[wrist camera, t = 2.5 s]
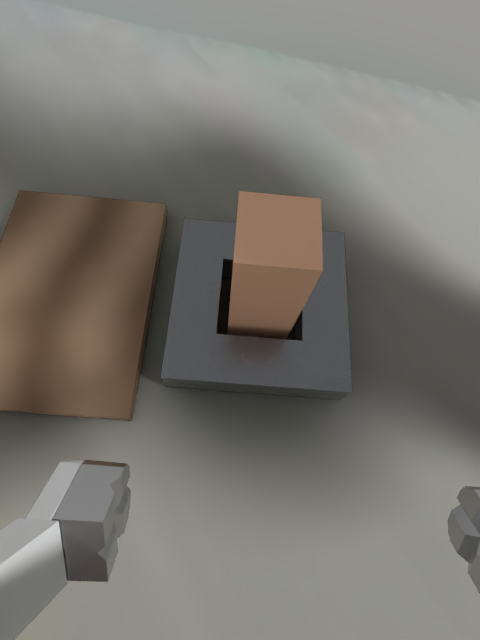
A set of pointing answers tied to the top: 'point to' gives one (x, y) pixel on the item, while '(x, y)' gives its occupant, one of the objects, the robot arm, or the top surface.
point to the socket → (255, 352)
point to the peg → (273, 262)
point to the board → (76, 303)
